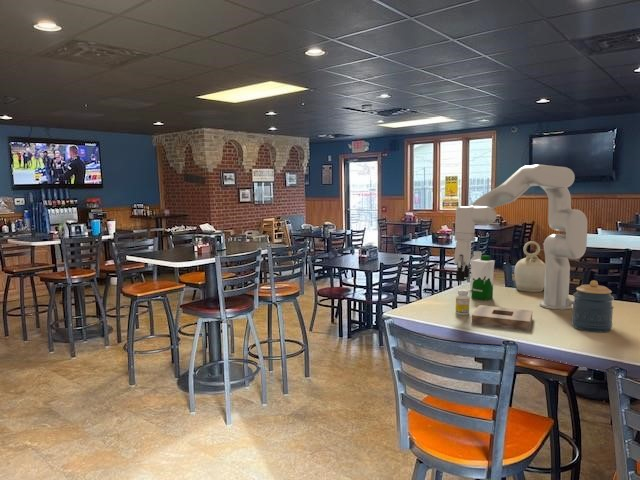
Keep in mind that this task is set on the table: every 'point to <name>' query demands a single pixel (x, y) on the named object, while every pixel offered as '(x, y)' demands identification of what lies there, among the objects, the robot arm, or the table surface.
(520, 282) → the jug
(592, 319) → the canister
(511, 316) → the socket block
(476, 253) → the plastic bottle
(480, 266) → the milk carton
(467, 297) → the supplement bottle
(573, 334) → the table surface
